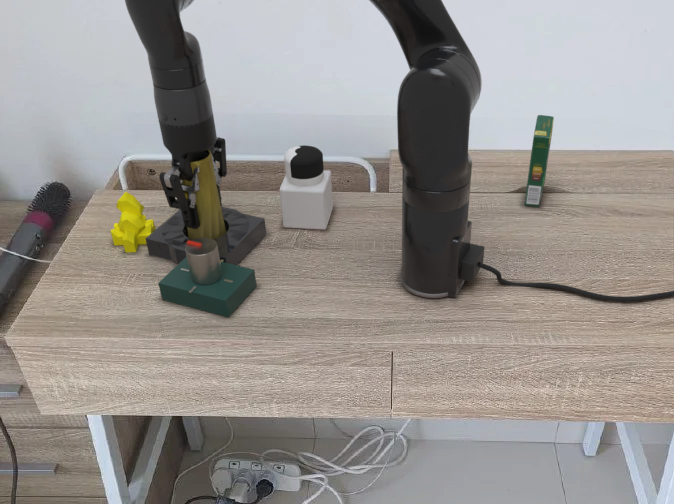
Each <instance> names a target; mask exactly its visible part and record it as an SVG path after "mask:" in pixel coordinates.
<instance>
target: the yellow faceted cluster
mask: <svg viewBox="0 0 674 504" xmlns="http://www.w3.org/2000/svg"><path fill="white" fill-rule="evenodd" d="M115 207H116V209H117V210H119V211H120V213H121V214H120V217H119V220H118V222H114V225H113V228H111V230H110V235H111V239H112V242H113V245H114V246H123V248H124V252H125V253H127V254H128V253H137V250H138V248H139V246H140V245H141V246H142V245H147V243H146V239H145V238H147V237H148V236H149V235H150V234H151V233H152V232H154V231H155V230H156V229H157V228H156V225H155V221H154V219H152V218H151V219H147V216H146V215H145V214H144V213H143V212H144V209H145V206H144V205H143V204H142V203H140V201H139V200H138V199H137V198H136V197H135V195H133V194H132V193H129V192H127V191H125V192H124V193H123V194H122V195H121V196H120V198H119V199H118V200H117V201H116V206H115Z"/></svg>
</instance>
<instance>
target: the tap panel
mask: <svg viewBox="0 0 674 504" xmlns="http://www.w3.org/2000/svg"><path fill="white" fill-rule="evenodd" d="M223 261H224V260H223V259H221V260H220V263H221V269H222V277H221V279H220V280H218V281H217V282H215V283H212V284H208V285H200V284H196V283H194V282H193V281H192V279H191V275H190V270H189V266H188V261H187V257H185V258H184V259H183V260H182V261H181V262H180V263H179V264H176V266H175V267H173V268H172V269H171V270H170V271H169V272H168V273H166V275H165V276H164V277H163V278H162V279H161V280H159V281H158V283H157V284H158V288H159V292H160V296H161V300H162V301H165V302H169V303H173V304H177V305H180V306H183V307H187V308H192V309H194V310H199V311H203V312H207V313H210V314H214V315H219V316H222V317H225V318H230V317H231V316H232V314H234V312H235V311H236V310H237V309H238V308H239V306H241V304H242V303H244V301H245V300H246V299H247V298H248V296H250V294H251V293H252V292H253V291H255V289H256V288H257V286H258V285H257V278H256V271H255V269H253V268H249V267H245V266H241V265H238V264H237V265H233V264H229V263H225V262H223Z"/></svg>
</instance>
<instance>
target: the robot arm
mask: <svg viewBox="0 0 674 504" xmlns="http://www.w3.org/2000/svg"><path fill="white" fill-rule="evenodd" d="M368 1H369V2H370V3H371V5H372V6H374V7H375V8H376V10H378V12H380V14H381V15H382V17H383V18H384V19H385V20H386V21H387V24H388V25H389V27H390V28H391V30H392V31H393V33H394V36H395V37H396V40H397V42H398V44H399V46H400V48H401V50H402V53H403V55H404V58H405V60H406V62H407V63H406V64H407V65H408V69H409V71H408V72H407V73H406V75H405V76H404V78H403V79H402V81H401V82H400V86H399V89H398V94H397V101H396V103H397V104H396V108H397V109H396V127H397V129H396V130H397V153H398V154H397V155H398V159H399V162H400V164H401V167H402V179H401V181H402V183H401V184H402V185H401V187H402V189H401V191H402V193H401V195H402V197H401V198H402V199H401V269H400V270H401V273H400V283H401V285H402V286H403V288H404V289H405V290H406V291H408V292H409V293H410V294H412V295H415V296H417V297H421V298H424V299H425V298H426V299H442V298H447V297H449V298H454V299H455V298H456V297H457V296H458V294H459V292H460V291H461V289H462V288H463V286H464V285H465V282H466V281H468V282H471V283H473V282H474V280H475V279H476V277H477V275H478V274H479V271H480V269H483V270H486V271H487V272H490V273H492V274H494V275H495V276H496V280H497V282H498V283H499V284H501V285H504V286H511V287H525V288H537V289H540V288H541V289H542V288H543V289H554V290H561V291H566V292H570V293H574V294H577V295H581V296H584V297H588V298H592V299H595V300H596V299H597V300H600V301H601V300H602V301H608V302H622V303H623V302H626V303H627V302H640V301H641V302H642V301H649V300H655V299H662V298H668V297H674V290H670V291H665V292H664V291H663V292H658V293H651V294H644V295H634V296H633V295H631V296H620V295H619V296H617V295H606V294H602V293H601V294H600V293H599V294H598V293H595V292H591V291H588V290H585V289H580V288H577V287H573V286H569V285H565V284H560V283H552V282H513V281H509V280H507V279H504V278H502V273H501V272H500V271H499V270H498V269H496V268H495V267H493V266H491V265H488V264H485V263H484V259H485V258H484V257H485V256H484V255H485V246H484V245H479V244H474V243H471V241H472V228H473V227H472V226H473V222H472V221H471V220H469V210H470V209H469V208H470V197H471V196H470V195H471V182H472V169H473V160H472V157H471V154H470V153H469V140H470V126H471V125H470V123H471V115H472V113H473V111H474V109H475V107H476V105H477V104H478V102H479V99H480V97H481V92H482V89H483V88H482V86H483V85H482V83H483V80H482V73H481V69H480V67H479V65H478V63H477V61H476V59H475V57H474V54H473V53H472V51H471V50H470V48H469V46H468V44H467V43H466V41H465V39H464V38H463V36H462V34H461V32H460V31H459V29H458V27H457V26H456V23H455V22H454V20H453V18H452V17H451V15H450V13H449V12H448V10H447V7H446V6H445V4H444V2H443V0H368ZM124 2H125V6H126V10H127V13H128V15H129V18H130V20H131V23H132V24H133V26H134V29H135V31H136V33H137V36H138V38H139V40H140V42H141V44H142V46H143V47H144V49H145V51H146V55H147V61H148V66H149V70H150V75H151V76H150V77H151V80H152V86H153V98H154V105H155V109H156V114H157V120H158V125H159V129H160V133H161V139H162V143H163V146H164V147H165V149H167V151H168V152H169V154H170V155H171V165H170V166H171V168H170V169H169V170H168V172H163V171H162V172H160V173H159V176H158V177H159V181H160V185H161V186H162V190H163V193H164V195H165V198H166V200H167V203H168V206H169V207H170V208H173V209H176V210H180V209H181V212H182V217H183V222H184V224H185V226H186V227H188V228H193V229H197V228H198V227H199V226H200V223H199V217H198V212H197V207H196V206H195V205H196V193H197V192H199V190H200V184H199V179H198V173H199V172H200V171H199V167H197V168H195V169H194V171H193V172H192V168H191V162H194V161H199V160H202V159H204V158H206V157H207V156H208V155H209V154H208V151H207V149H209V150H210V151H211V155H212V162H213V167H214V173H215V179H216V184H217V190H218V195H219V200H220V205H221V207H223V202H222V194H221V188H220V186H221V185H222V178H226V176H227V174H228V168H227V167H228V165H227V164H228V163H227V148H226V147H227V146H226V139H225V138H223V137H219V136H218V135H217V130H216V129H217V128H216V122H215V117H214V111H213V110H214V109H213V104H212V97H211V93H210V89H209V85H208V82H207V78H206V72H205V65H204V59H203V53H202V49H201V46H200V42H199V40H198V38H197V37H196V36H195V35H194V34H192V33H191V32H189V31H186V30H185V29H184V26H183V23H182V19H181V12H183V11H184V10H186V9H187V8H189V7H190V6H191V5H192V4H193V3H194V2H195V0H124ZM216 162H218V163H219V167H218V166H217V163H216ZM181 178H182V179H183V180H187V181H191V180H193V182H192V186H187V185H184V184H183V183H182V180H181ZM185 191H188V192H189V199H186V197H185Z"/></svg>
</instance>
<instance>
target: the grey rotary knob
mask: <svg viewBox="0 0 674 504" xmlns="http://www.w3.org/2000/svg"><path fill="white" fill-rule="evenodd" d="M186 243H187V244H186V246H185V251H186V256H187V261H188V266H189V270H190V275H191V279H192V281H193V282H194V283H196V284H200V285H208V284H212V283H215V282H217V281H218V280H220V279H221V277H222V269H221V263H220V257H219V252H218V246H217V243H216V241H214V240H213V239H210V238H198V239H194V240H192V241H189V240H188V241H187V242H186Z"/></svg>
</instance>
